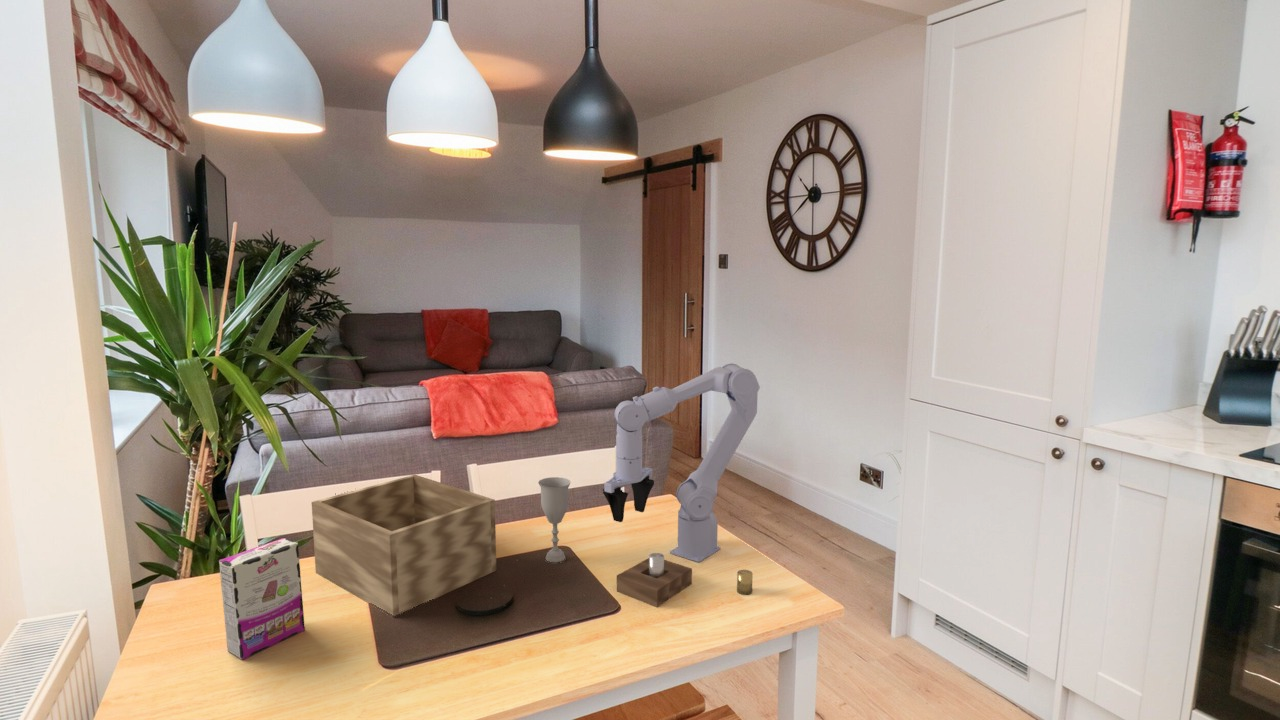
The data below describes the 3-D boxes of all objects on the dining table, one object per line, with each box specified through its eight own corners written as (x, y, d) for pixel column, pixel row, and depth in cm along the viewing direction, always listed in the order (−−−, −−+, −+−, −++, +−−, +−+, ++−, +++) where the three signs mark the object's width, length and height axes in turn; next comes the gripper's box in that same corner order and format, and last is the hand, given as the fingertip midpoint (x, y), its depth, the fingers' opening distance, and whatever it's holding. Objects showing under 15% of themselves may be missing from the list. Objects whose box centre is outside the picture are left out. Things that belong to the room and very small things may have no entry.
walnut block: (652, 571, 143) (652, 555, 143) (691, 584, 137) (691, 568, 137) (616, 592, 134) (616, 575, 133) (657, 607, 128) (657, 590, 127)
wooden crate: (417, 539, 160) (414, 474, 158) (496, 572, 142) (494, 499, 140) (315, 575, 140) (311, 502, 138) (393, 618, 123) (389, 535, 121)
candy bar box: (289, 623, 121) (284, 536, 119) (305, 631, 119) (300, 542, 117) (224, 652, 112) (217, 558, 110) (240, 661, 109) (233, 565, 107)
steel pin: (655, 584, 137) (655, 551, 136) (666, 588, 135) (667, 555, 134) (645, 589, 135) (645, 556, 134) (657, 594, 133) (657, 560, 132)
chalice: (578, 561, 148) (577, 482, 146) (554, 570, 143) (553, 489, 141) (556, 551, 153) (555, 475, 151) (532, 560, 148) (531, 482, 146)
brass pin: (741, 587, 136) (742, 568, 136) (754, 591, 135) (755, 572, 134) (734, 592, 134) (734, 573, 134) (747, 597, 132) (748, 577, 132)
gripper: (635, 446, 155) (634, 503, 157) (593, 460, 143) (593, 521, 145) (659, 451, 151) (659, 509, 152) (618, 465, 139) (618, 528, 141)
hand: (629, 515), depth 148 cm, fingers open, 7 cm apart
